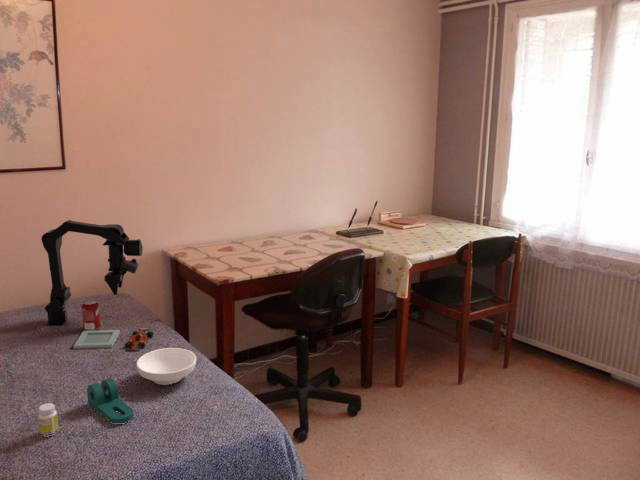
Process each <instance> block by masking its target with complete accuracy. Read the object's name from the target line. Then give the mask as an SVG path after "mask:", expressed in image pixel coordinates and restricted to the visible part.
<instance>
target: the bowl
mask: <svg viewBox="0 0 640 480" xmlns="http://www.w3.org/2000/svg"><path fill="white" fill-rule="evenodd" d="M196 366H197V355H196V354H195V353H194V352H193V351H190V350H188V349H185V348H181V347H180V348H179V347H164V348H158V349H155V350H151V351H149V352H146V353H144V354H142V356H140V357H139V358H138V359H137V361H136V369H137V371H138V374H139V375H140V376H141V377H142V378H144V379H147V380H149V381H152V382H153V383H154V384H156V385H162V386H167V385H169V384H170V385H174V384H176V383H178V382H180V381H181V380H182V379H183V378H185V377H186V376H187V375H189V374H191V373H192V372H193V370H194V369H195V368H196ZM173 383H174V384H173Z"/></svg>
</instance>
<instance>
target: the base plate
mask: <svg viewBox="0 0 640 480" xmlns="http://www.w3.org/2000/svg"><path fill="white" fill-rule="evenodd" d="M120 330H121V329H106V330H104V329H101V330H99V329H98V330H95V331H86V330H83V331H82V332H81V334H80V336H79V337H78V339H76V342H75V343H74V344H73V350H76V349H77V350H80V349H82V350H83V349H84V350H85V349H106V348H107V349H111V348H113V347H114V345H115V343H116V341H117V339H118V337H119V335H120V333H121V331H120Z"/></svg>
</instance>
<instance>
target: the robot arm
mask: <svg viewBox="0 0 640 480" xmlns="http://www.w3.org/2000/svg"><path fill="white" fill-rule="evenodd" d="M68 232H70V233H71V232H72V233H78V234H85V235H93V236H98V237H101V238H102V239H105V241H104V242H103V243H102V246H108V247H107V248H108V258H107V262H109V263H108V266H109V267H108V272H107V273H106V274H105V275H104V282H105V283H106V284H107V285H108V287H109V289H110V290H111V292H112V294H113V295H114V296H117V295H118V291H119V288H122V286H123V283H124V276H125V274H127V273H128V272H129V273H130V274H136V273H137V270H138V267H139V265H140V264H139V262H138V260H137V259H136V258H134V257H141V256H143V251H144V250H143V248H144V247H143V244H142V240H141V239H130V237H129V236H128V235H127V234H126V232H125V230H124V227H122V225H120V224H117V223H116V224H113V223H111V224H95V223H87V222H80V221H75V220H71V219H70V220H69V219H67V220H65V221H64V222H63V223H61V225H59V226H58V227H56V228H54V229H50V230H48V231H47V232H45V233H43V235H42V236H41V244H42V246H43V249H44V250H45V251H46V253H47V256H48V266H49V271H50V279H51V280H50V281H51V290H50V294H49V297H50V298H49V303H47V305H46V306H45V307H44V310H45V312H46V313H47V323H46V325H47V326H63V325H65V323H66V322H67V320H68V318H69V317H68V311H67V310H66V304H67V302H69V301H70V300H71V299H70V298H71V296H72V293H71V286H66V284H65V280H64V271H63V266H62V265H63V264H62V255H61V248H62V244H63V236H65V235H66V234H67V233H68ZM125 255H126V256H129V257H130V256H131V257H133V258H132V259H130V260H127V259H126V256H125Z"/></svg>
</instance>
